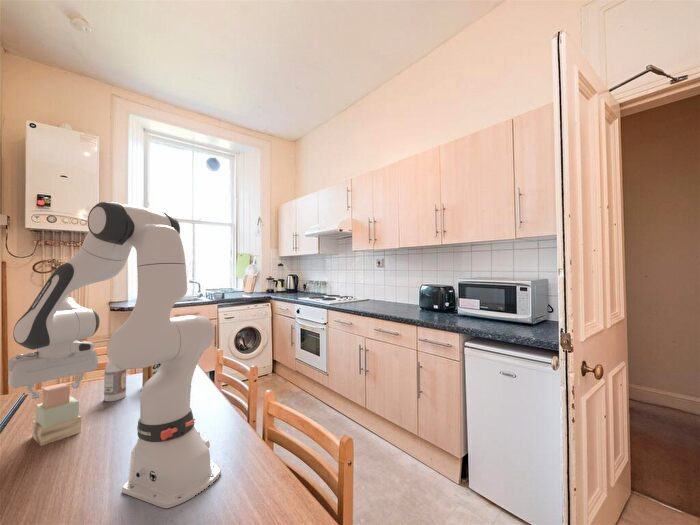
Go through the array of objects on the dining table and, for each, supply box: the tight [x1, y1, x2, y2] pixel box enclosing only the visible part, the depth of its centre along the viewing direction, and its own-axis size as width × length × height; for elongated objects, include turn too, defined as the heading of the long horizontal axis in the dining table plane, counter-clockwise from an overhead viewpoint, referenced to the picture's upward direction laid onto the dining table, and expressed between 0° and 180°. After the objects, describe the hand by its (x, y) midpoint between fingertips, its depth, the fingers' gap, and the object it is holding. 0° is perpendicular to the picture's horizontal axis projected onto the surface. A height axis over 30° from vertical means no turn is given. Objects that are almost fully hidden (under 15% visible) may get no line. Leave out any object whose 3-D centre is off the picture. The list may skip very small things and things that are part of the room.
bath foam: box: [103, 359, 127, 402], centre depth 122 cm, size 7×7×20 cm
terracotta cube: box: [42, 382, 71, 408], centre depth 95 cm, size 5×5×5 cm
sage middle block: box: [35, 395, 80, 428], centre depth 95 cm, size 8×8×5 cm
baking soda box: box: [141, 363, 161, 388], centre depth 136 cm, size 10×6×16 cm
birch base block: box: [31, 414, 82, 447], centre depth 95 cm, size 9×9×5 cm
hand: (56, 392), depth 95 cm, fingers open, 8 cm apart
